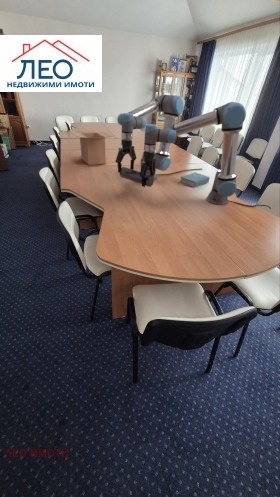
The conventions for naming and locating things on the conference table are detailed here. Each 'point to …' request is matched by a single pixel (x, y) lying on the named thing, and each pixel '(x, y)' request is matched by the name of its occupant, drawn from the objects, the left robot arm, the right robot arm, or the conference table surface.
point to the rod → (136, 176)
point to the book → (194, 179)
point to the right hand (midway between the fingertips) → (146, 184)
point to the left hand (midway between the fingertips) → (125, 170)
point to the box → (92, 146)
